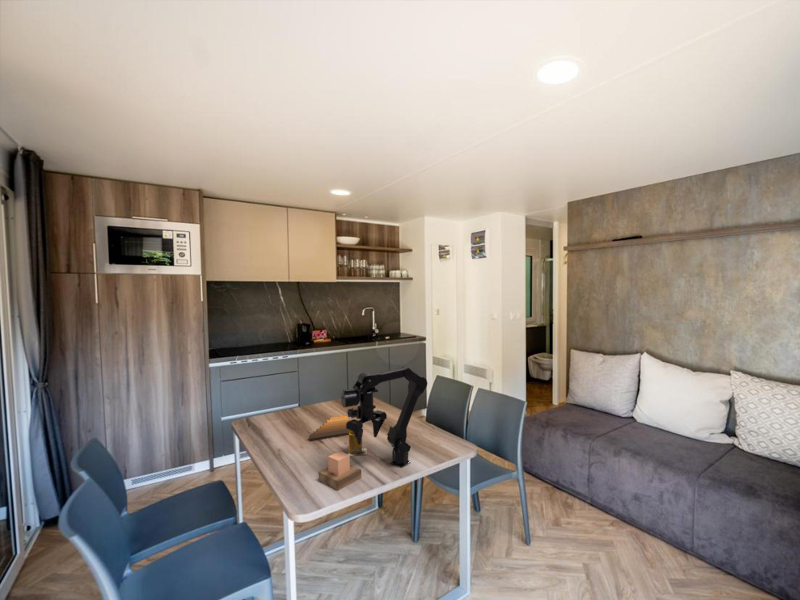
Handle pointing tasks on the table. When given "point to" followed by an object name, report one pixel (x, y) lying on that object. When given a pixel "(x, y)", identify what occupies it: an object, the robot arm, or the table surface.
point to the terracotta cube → (338, 463)
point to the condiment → (355, 446)
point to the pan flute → (331, 429)
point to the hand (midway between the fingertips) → (367, 440)
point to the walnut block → (340, 478)
